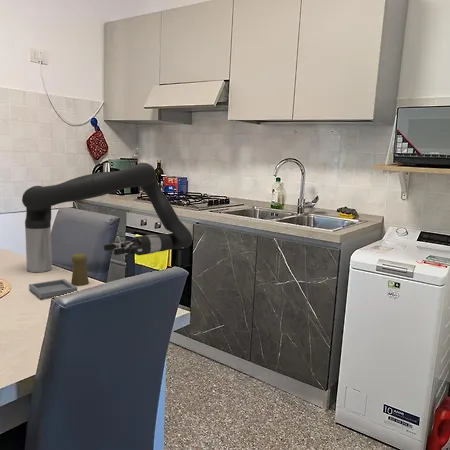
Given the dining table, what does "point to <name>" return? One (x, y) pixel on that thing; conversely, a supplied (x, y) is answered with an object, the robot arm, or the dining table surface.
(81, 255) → the cork
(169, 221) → the robot arm
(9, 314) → the dining table surface
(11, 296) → the dining table surface
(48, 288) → the tray
